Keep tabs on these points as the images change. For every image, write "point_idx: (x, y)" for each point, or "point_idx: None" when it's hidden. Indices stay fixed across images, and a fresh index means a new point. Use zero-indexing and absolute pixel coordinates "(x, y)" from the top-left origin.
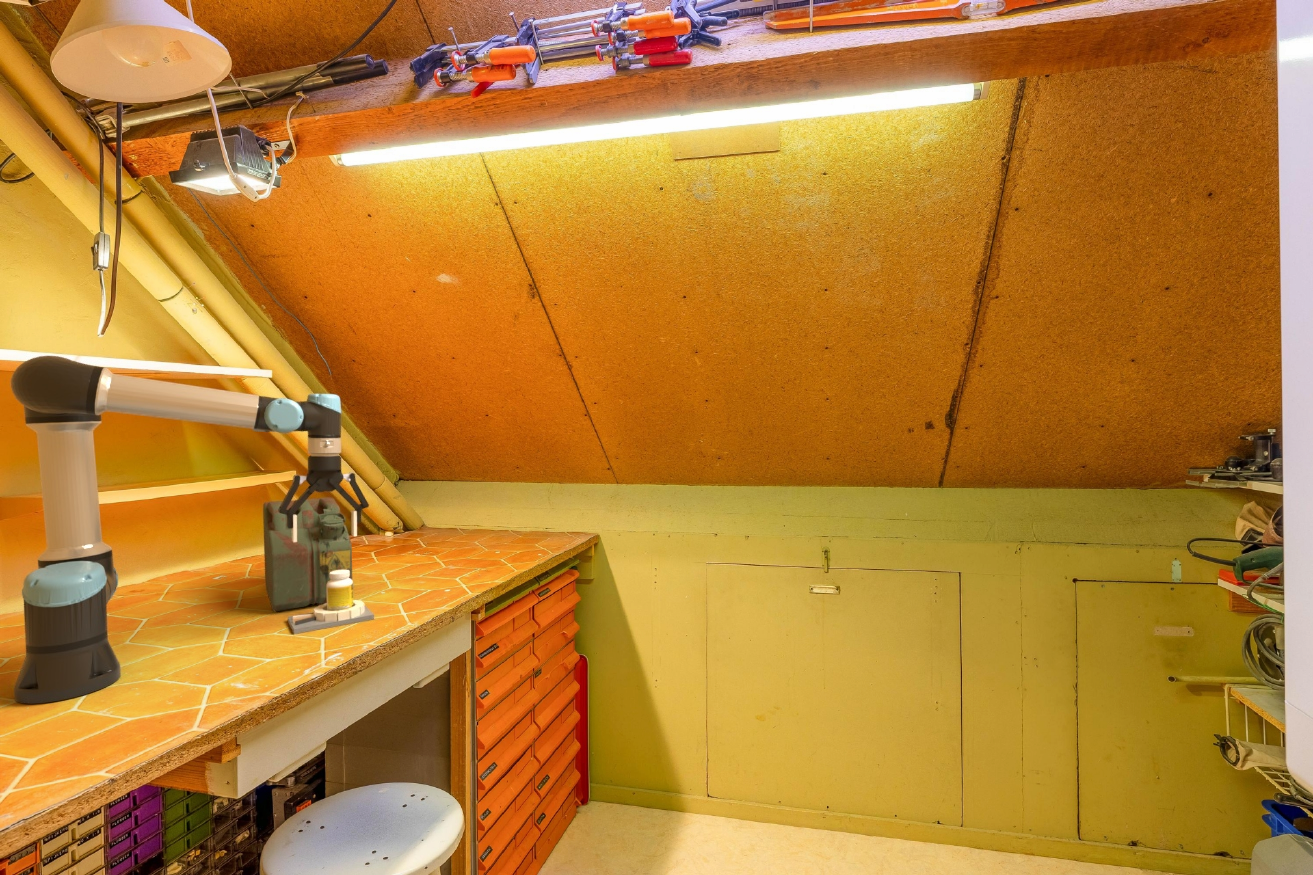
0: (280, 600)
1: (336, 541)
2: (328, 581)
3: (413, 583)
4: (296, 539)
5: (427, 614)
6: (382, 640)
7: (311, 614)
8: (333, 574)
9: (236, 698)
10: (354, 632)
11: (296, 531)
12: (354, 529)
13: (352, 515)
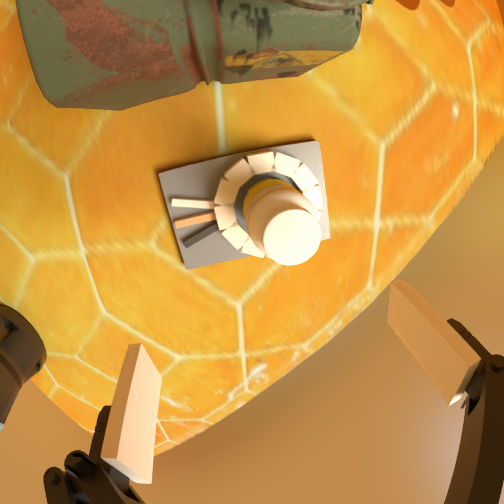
0: (129, 106)
1: (305, 11)
2: (255, 224)
3: (409, 15)
4: (159, 386)
5: (403, 247)
6: (319, 340)
7: (209, 204)
8: (274, 260)
9: (179, 419)
10: (288, 296)
11: (155, 415)
12: (405, 340)
13: (444, 368)
